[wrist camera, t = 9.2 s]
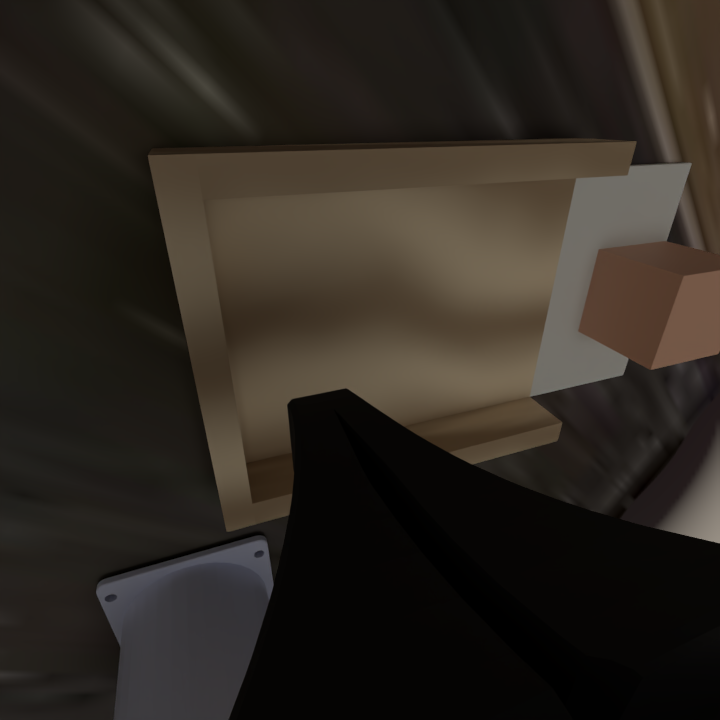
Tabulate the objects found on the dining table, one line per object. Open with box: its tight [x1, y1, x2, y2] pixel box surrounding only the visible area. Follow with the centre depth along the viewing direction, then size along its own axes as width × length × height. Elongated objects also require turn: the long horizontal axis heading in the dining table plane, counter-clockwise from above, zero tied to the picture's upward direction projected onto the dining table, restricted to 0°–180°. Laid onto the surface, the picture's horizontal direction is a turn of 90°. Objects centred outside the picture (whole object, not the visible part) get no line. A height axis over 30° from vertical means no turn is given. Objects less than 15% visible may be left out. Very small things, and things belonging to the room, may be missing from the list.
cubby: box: [148, 138, 637, 532], centre depth 19 cm, size 14×17×3 cm
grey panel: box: [530, 162, 692, 397], centre depth 24 cm, size 12×7×1 cm, turn 179°
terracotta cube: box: [578, 241, 720, 370], centre depth 22 cm, size 4×4×4 cm
